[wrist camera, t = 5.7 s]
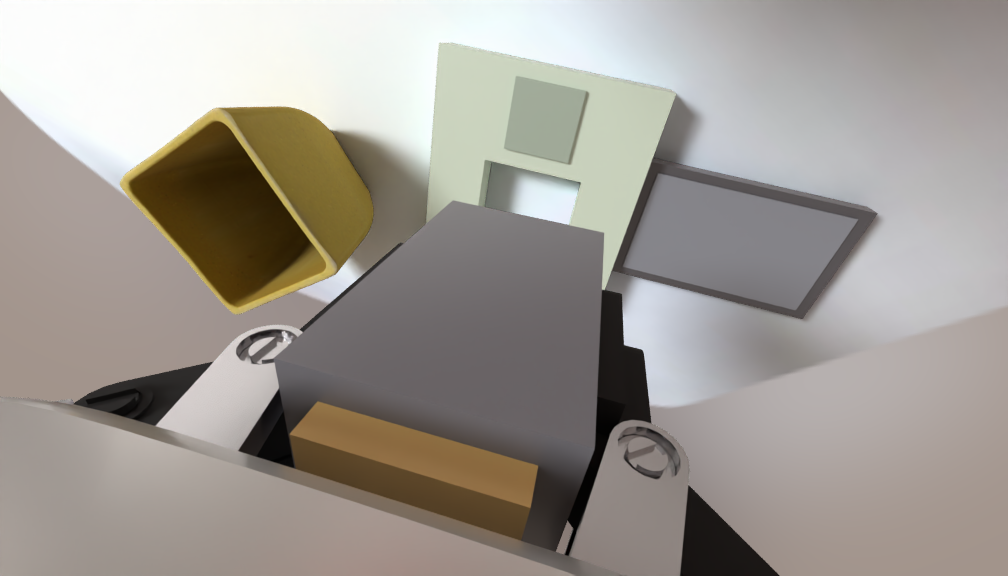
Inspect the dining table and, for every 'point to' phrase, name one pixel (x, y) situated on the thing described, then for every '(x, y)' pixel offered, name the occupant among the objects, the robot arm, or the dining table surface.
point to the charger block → (459, 373)
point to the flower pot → (255, 202)
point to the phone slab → (738, 238)
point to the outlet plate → (544, 134)
